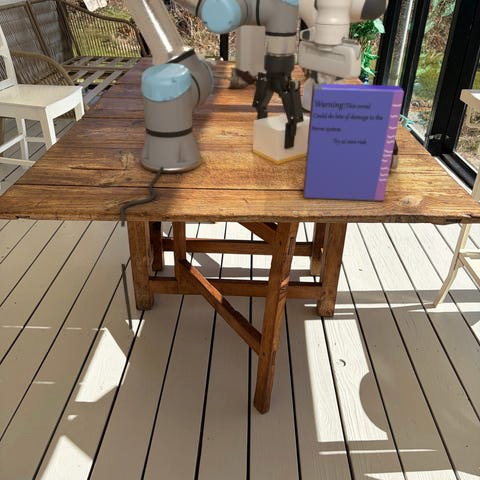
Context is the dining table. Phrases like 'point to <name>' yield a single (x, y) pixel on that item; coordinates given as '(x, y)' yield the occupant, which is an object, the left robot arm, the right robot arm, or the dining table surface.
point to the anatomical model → (306, 72)
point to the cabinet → (279, 139)
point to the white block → (250, 49)
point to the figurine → (239, 78)
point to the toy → (198, 58)
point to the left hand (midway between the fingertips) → (275, 141)
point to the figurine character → (394, 157)
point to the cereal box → (351, 141)
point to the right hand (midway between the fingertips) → (325, 90)
